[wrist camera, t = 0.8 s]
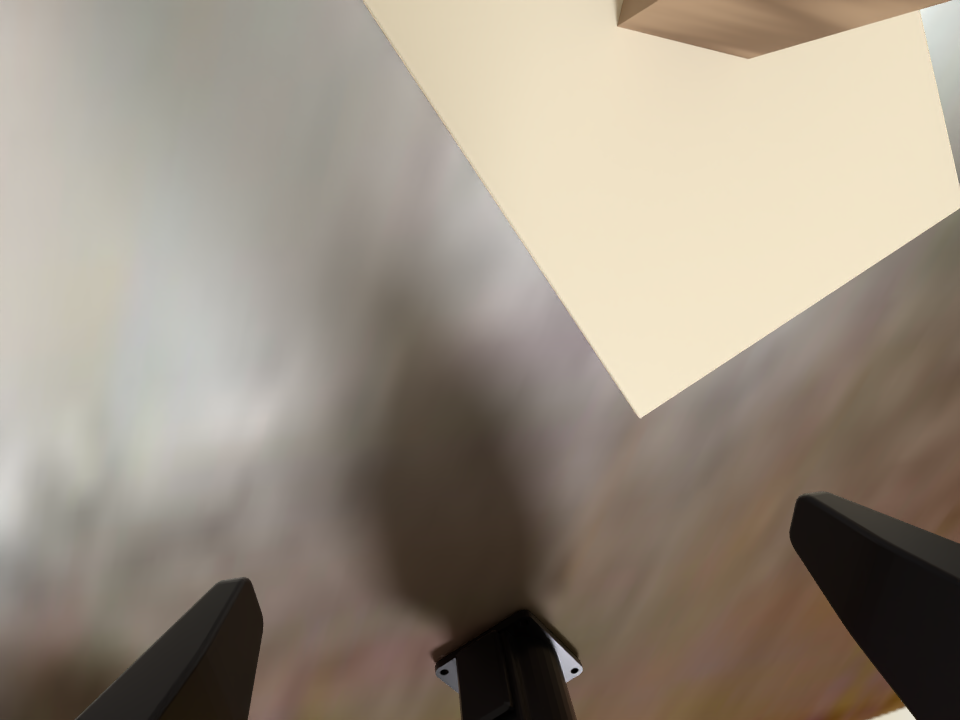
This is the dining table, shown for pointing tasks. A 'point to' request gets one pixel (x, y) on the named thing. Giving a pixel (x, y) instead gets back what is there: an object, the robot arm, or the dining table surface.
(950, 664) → the robot arm
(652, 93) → the placemat
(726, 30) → the walnut block
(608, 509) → the dining table surface
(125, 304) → the dining table surface
